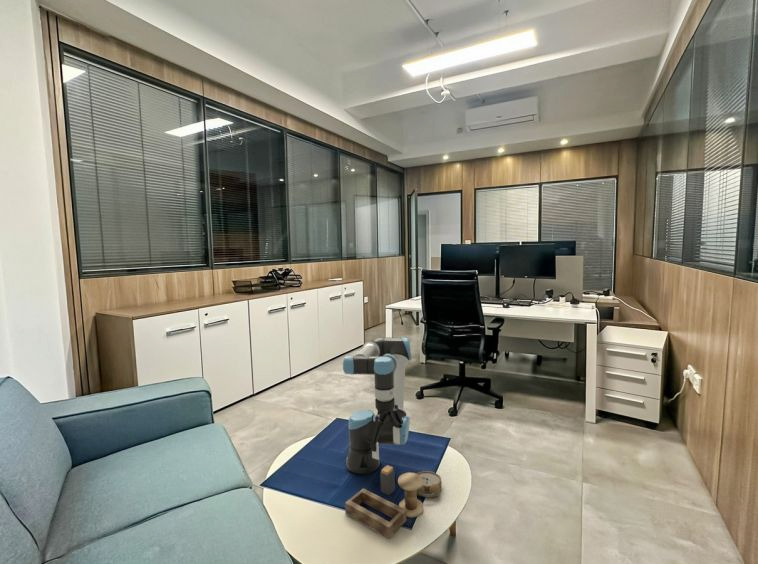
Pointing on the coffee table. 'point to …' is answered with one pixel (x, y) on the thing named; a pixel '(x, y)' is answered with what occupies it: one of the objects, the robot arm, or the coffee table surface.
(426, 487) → the alarm clock
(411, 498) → the bobbin
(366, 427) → the robot arm
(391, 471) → the grey upright block
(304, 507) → the coffee table surface
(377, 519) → the open rectangular wooden frame
